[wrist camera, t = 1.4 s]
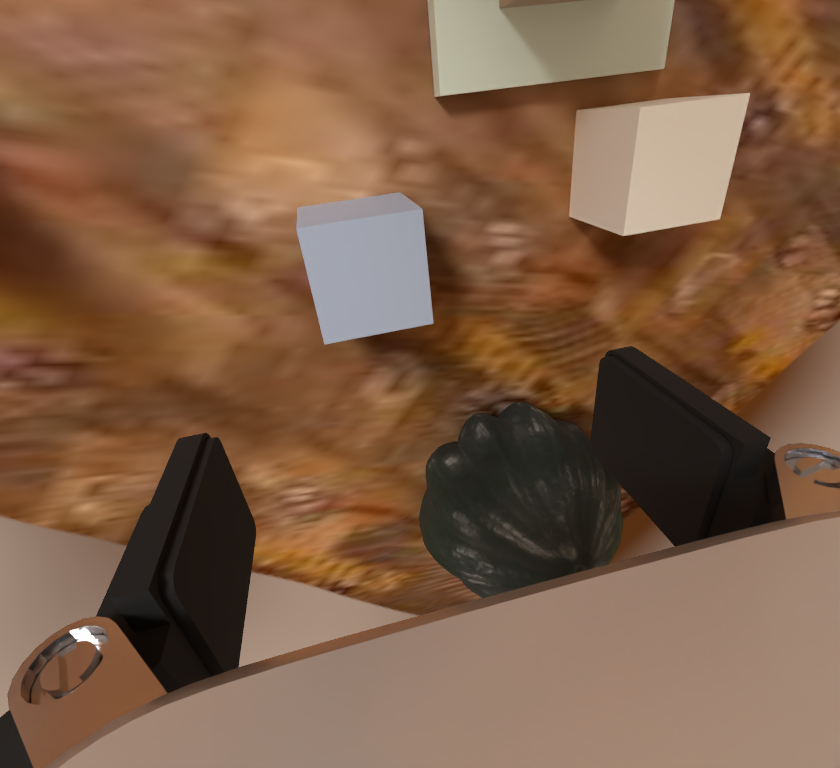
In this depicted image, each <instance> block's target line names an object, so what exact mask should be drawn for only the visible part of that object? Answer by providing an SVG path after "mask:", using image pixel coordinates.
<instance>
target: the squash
mask: <svg viewBox="0 0 840 768" xmlns="http://www.w3.org/2000/svg"><path fill="white" fill-rule="evenodd" d="M426 482H427V490H426V492H425V495H424V497H423V500H422V504H421V510H420V515H419V522H420V529H421V533H422V536H423V541H424V544H425V546H426V548H427V550H428V551H429V552H430V554H431V555H432V556H433V558H434V559H435V560H436V561H437V562H438V563H439V564H440V565H441V566H442V567H443V568H445V569H446V570H447V571H449V572H450V573H451V574H453V575H454V576H456V577H457V578H459V579H460V580H461V581H462V582H463V583H464V585H465V586H466V587H467V588H468V589H470V590H471V591H472V592H474V593H476V594H477V595H479V596H480V597H482V598H486V597H490V596H493V595H497V594H501V593H504V592H508V591H512V590H515V589H519V588H523V587H526V586H530V585H534V584H537V583H541V582H545V581H549V580H552V579H556V578H560V577H563V576H567V575H571V574H574V573H578V572H582V571H585V570H589V569H593V568H597V567H600V566H604V565H608V564H609V562H610V561H611V559H612V558H613V556H614V554H615V553H616V551H617V549H618V547H619V544H620V541H621V534H622V529H623V516H622V512H621V508H620V506H621V490H620V485H619V482H618V481H617V480H616V479H615V478H614V477H613V475H612V474H611V473H610V472H609V471H608V470H607V469H606V468H605V466H604V465H603V464H602V463H601V462H600V461H599V460H598V458H597V457H596V456H595V455H594V453H593V451H592V448H591V441H590V439H589V438H588V437H587V435H586V434H585V433H584V432H583V431H582V430H581V429H580V428H578V427H577V426H576V425H574V424H571V423H569V422H567V421H562V420H554V419H553V418H551V417H550V416H549V415H548V414H546V413H545V412H543V411H542V410H540V409H538V408H537V407H535V406H533V405H531V404H529V403H526V402H518V403H514V404H511V405H510V406H508V407H507V408H506V409H505V410H503V411H502V413H501V414H500V415H499V417H495V416H492V415H490V414H484V413H477V414H474V415H473V416H471V417H470V418H469V419H468V420H467V421H466V423H465V424H464V426H463V427H462V430H461V432H460V435H459V438H458V442H452V443H447V444H444V445H442V446H440V447H438V449H437V450H436V451H435V452H434V453H433V454H432V455H431V457H430V458H429V460H428V462H427V465H426Z"/></svg>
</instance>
